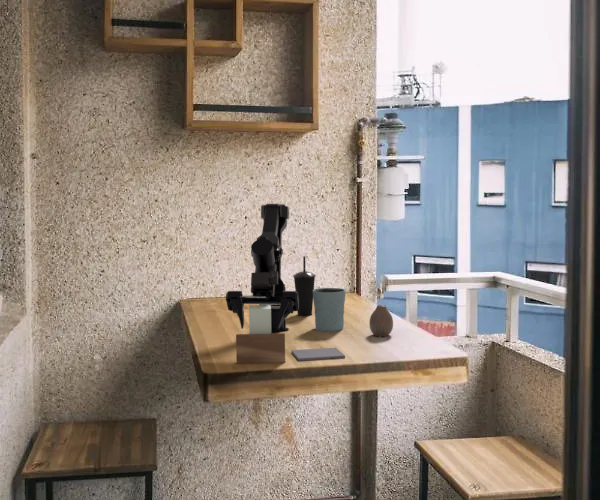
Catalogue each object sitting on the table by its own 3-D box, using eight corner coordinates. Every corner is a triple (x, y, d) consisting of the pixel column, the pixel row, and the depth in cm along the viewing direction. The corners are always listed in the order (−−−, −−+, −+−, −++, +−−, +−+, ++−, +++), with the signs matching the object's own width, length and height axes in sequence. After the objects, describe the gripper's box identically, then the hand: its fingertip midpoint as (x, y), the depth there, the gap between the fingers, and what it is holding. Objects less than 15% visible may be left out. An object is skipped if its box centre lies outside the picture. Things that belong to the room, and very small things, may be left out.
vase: (378, 338, 192) (378, 308, 191) (364, 334, 198) (364, 304, 197) (397, 336, 195) (398, 306, 194) (384, 331, 201) (384, 302, 201)
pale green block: (250, 355, 174) (249, 305, 173) (271, 354, 175) (270, 305, 174) (249, 360, 169) (248, 309, 168) (271, 360, 169) (271, 309, 168)
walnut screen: (236, 362, 167) (236, 334, 167) (284, 360, 168) (284, 333, 167) (236, 363, 166) (236, 335, 165) (285, 362, 166) (284, 334, 166)
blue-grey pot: (322, 333, 200) (321, 293, 199) (307, 326, 209) (306, 288, 208) (351, 329, 205) (351, 290, 203) (335, 323, 214) (335, 286, 213)
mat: (335, 349, 179) (335, 347, 179) (345, 357, 170) (345, 355, 170) (291, 352, 177) (291, 350, 177) (298, 360, 168) (298, 358, 168)
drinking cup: (290, 315, 228) (289, 257, 226) (298, 312, 235) (298, 255, 233) (311, 317, 225) (310, 257, 223) (319, 313, 232) (318, 255, 230)
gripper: (226, 260, 175) (219, 309, 165) (297, 260, 174) (294, 309, 164) (231, 286, 184) (225, 334, 174) (300, 286, 182) (297, 334, 172)
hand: (260, 327), depth 171 cm, fingers open, 9 cm apart
